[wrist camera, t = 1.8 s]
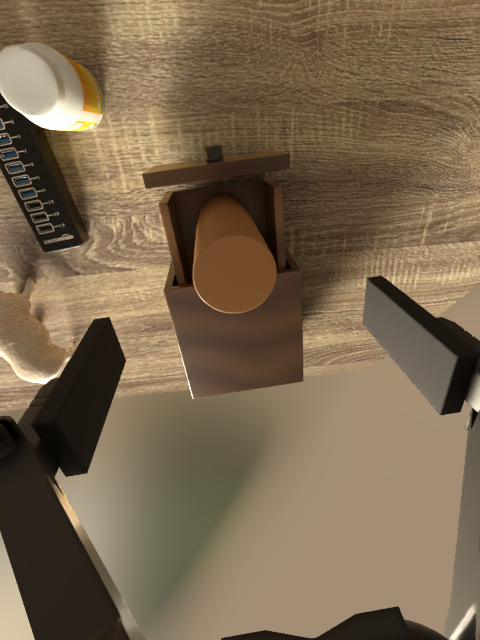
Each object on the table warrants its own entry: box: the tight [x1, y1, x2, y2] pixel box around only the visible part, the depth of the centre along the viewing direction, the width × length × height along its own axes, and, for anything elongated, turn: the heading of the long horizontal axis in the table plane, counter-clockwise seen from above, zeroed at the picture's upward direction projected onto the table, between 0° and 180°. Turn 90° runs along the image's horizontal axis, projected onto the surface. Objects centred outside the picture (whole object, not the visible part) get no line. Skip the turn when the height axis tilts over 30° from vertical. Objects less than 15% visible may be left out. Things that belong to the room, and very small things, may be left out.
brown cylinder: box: [193, 193, 277, 313], centre depth 28 cm, size 6×6×16 cm
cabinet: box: [164, 248, 303, 399], centre depth 38 cm, size 15×14×9 cm
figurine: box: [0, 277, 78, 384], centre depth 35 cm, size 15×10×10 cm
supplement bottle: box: [0, 42, 104, 131], centre depth 25 cm, size 5×5×10 cm
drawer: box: [142, 145, 290, 285], centre depth 32 cm, size 15×12×7 cm
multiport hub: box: [0, 92, 89, 253], centre depth 31 cm, size 4×14×2 cm, turn 10°
